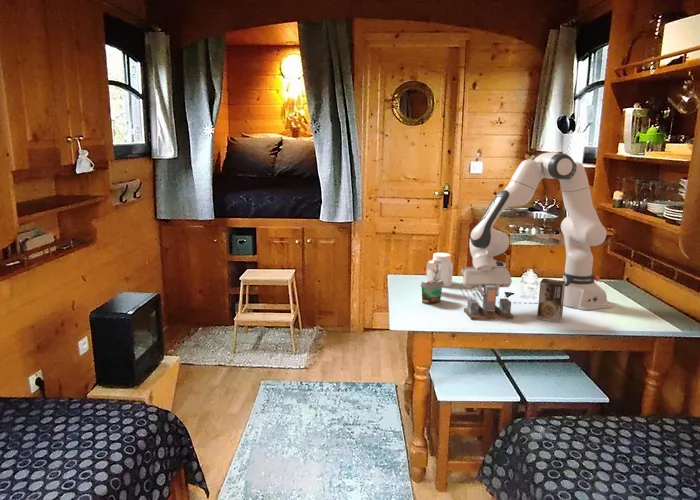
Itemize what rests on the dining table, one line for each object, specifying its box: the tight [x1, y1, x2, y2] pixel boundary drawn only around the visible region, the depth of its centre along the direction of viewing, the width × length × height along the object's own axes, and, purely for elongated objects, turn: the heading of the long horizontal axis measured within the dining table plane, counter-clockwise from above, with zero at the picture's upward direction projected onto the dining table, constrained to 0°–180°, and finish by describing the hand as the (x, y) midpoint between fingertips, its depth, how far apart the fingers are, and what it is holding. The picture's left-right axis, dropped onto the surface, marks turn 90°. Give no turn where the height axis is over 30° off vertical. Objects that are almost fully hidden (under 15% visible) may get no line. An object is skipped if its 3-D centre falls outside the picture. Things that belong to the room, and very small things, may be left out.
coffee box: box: [536, 278, 565, 323], centre depth 225 cm, size 9×6×16 cm
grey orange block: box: [482, 285, 497, 310], centre depth 228 cm, size 4×4×10 cm
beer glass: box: [426, 259, 442, 282], centre depth 258 cm, size 7×7×15 cm
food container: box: [420, 278, 445, 305], centre depth 244 cm, size 12×6×10 cm, turn 129°
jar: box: [431, 252, 454, 287], centre depth 272 cm, size 12×10×15 cm
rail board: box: [463, 298, 515, 321], centre depth 229 cm, size 18×11×6 cm, turn 95°
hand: (490, 295), depth 227 cm, fingers closed on grey orange block, 4 cm apart
